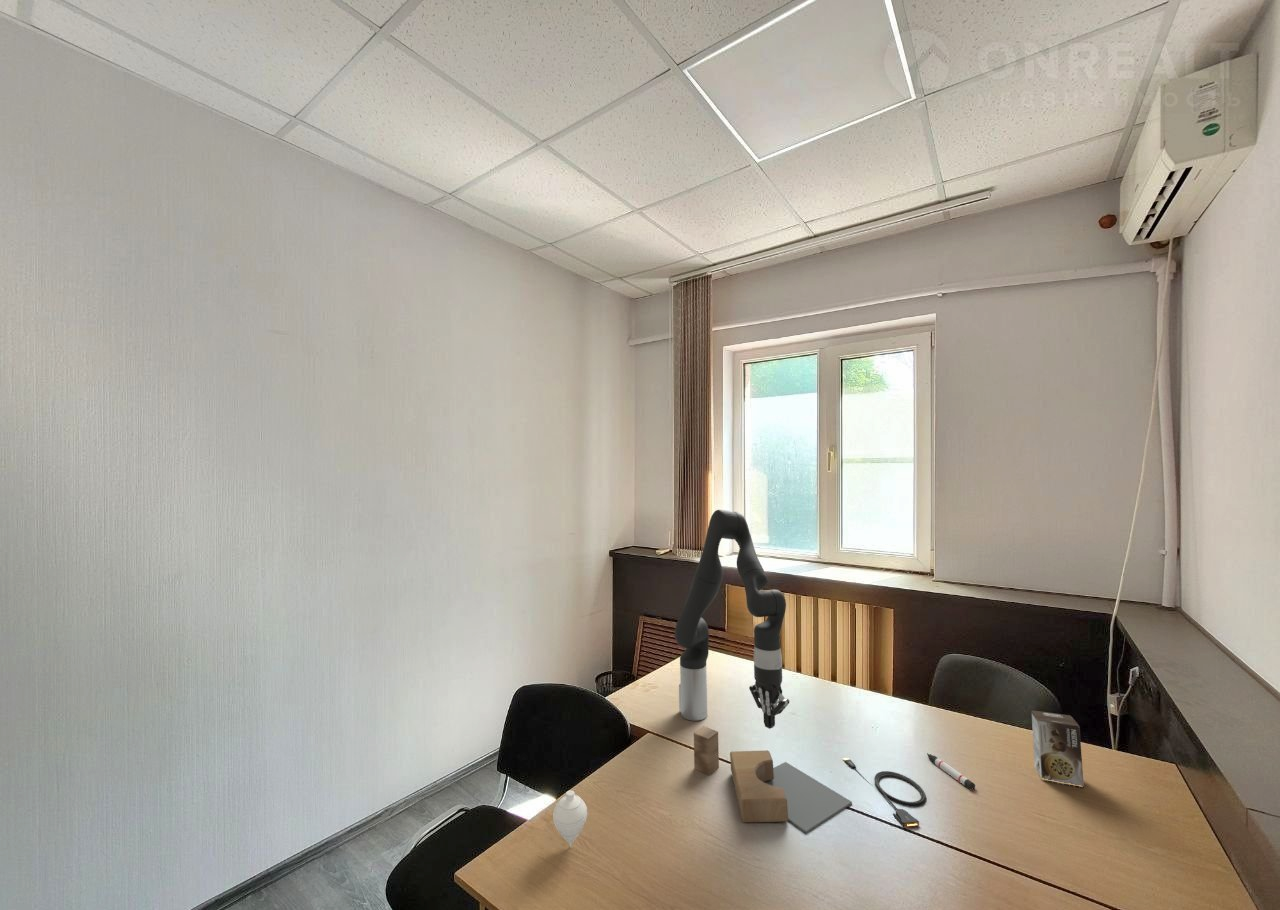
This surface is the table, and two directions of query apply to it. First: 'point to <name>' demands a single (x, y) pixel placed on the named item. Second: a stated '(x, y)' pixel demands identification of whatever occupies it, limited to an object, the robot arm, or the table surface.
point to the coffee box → (1057, 747)
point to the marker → (951, 771)
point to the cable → (900, 813)
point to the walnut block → (706, 750)
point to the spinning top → (570, 816)
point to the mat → (806, 797)
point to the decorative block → (757, 787)
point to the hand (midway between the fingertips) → (769, 726)
